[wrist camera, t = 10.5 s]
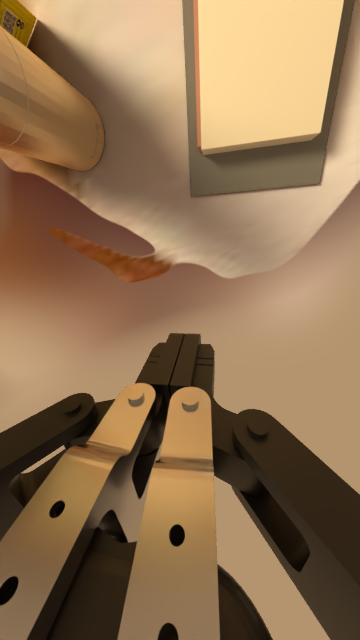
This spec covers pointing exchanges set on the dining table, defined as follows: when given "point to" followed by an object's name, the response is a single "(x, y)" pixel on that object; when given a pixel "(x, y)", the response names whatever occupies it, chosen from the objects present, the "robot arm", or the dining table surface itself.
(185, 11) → the mat
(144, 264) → the dining table surface
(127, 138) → the dining table surface
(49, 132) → the robot arm
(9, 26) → the food package
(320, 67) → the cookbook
